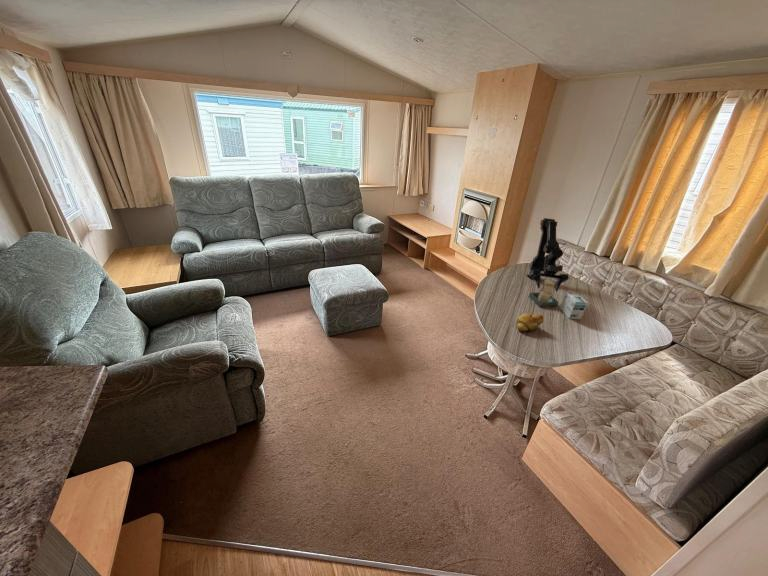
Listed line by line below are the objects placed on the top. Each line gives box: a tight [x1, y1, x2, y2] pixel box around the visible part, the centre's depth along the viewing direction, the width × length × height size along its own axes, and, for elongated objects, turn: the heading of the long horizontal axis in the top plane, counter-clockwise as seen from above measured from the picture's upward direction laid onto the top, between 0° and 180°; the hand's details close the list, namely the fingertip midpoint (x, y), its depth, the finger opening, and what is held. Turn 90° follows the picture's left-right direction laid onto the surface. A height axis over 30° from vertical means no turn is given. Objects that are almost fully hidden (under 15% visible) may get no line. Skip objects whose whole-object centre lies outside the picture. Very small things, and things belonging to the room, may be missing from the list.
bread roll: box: [516, 312, 544, 333], centre depth 152 cm, size 13×10×8 cm
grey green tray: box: [528, 291, 559, 308], centre depth 178 cm, size 11×11×3 cm
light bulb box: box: [559, 291, 589, 320], centre depth 166 cm, size 11×7×11 cm, turn 179°
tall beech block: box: [538, 279, 556, 302], centre depth 175 cm, size 4×4×12 cm
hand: (547, 289), depth 173 cm, fingers open, 9 cm apart
